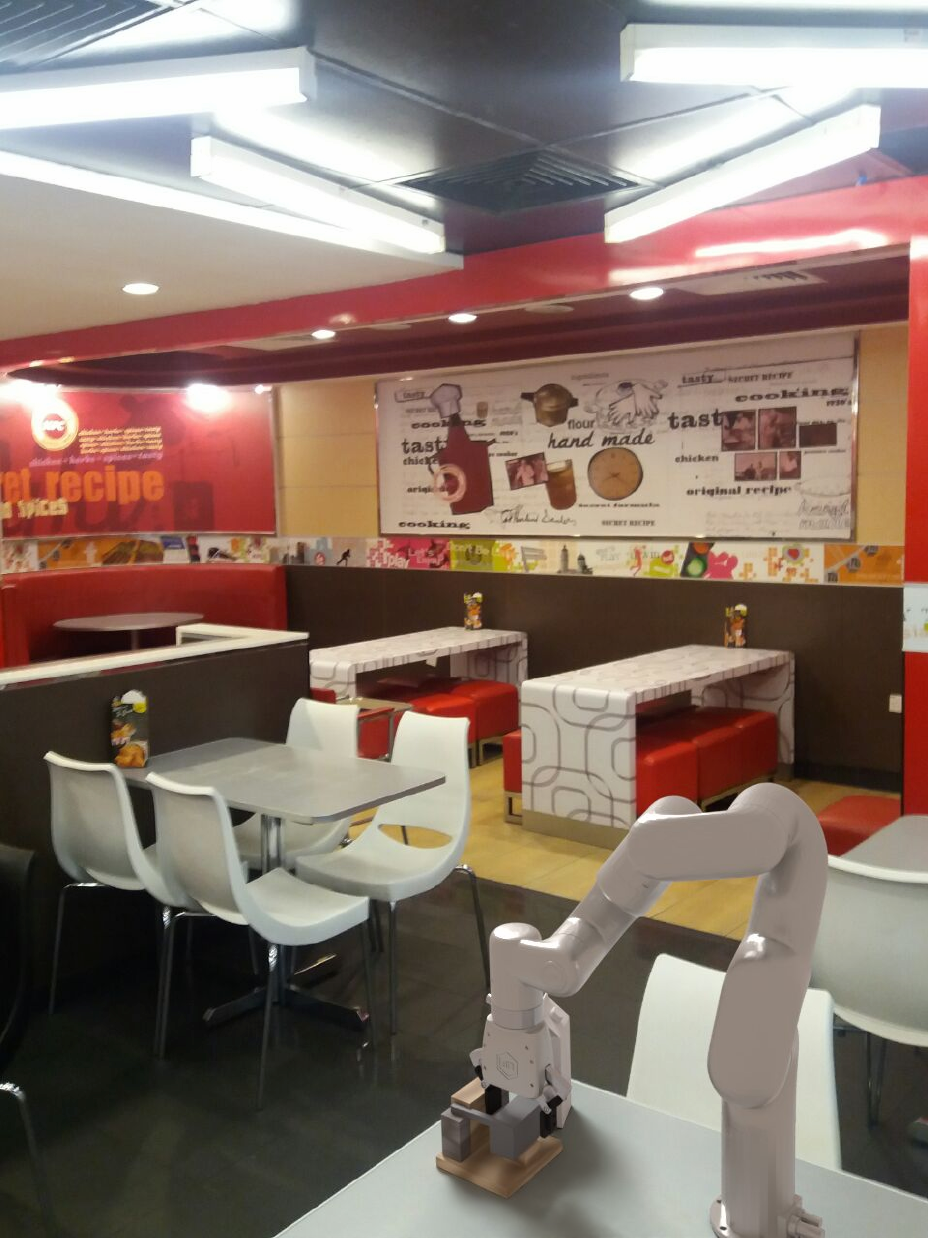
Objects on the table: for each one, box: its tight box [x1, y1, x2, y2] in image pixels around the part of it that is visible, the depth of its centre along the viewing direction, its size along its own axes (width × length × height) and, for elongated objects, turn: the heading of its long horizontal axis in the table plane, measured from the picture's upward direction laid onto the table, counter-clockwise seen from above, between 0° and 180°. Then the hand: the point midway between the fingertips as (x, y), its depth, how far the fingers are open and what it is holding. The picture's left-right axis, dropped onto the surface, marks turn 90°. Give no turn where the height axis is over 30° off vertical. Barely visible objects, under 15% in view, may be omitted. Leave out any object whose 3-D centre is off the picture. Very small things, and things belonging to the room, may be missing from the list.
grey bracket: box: [450, 1092, 550, 1161], centre depth 167 cm, size 11×11×5 cm
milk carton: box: [543, 992, 572, 1129], centre depth 177 cm, size 7×7×19 cm
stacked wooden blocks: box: [435, 1076, 563, 1200], centre depth 167 cm, size 13×14×10 cm
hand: (520, 1122), depth 164 cm, fingers open, 9 cm apart
